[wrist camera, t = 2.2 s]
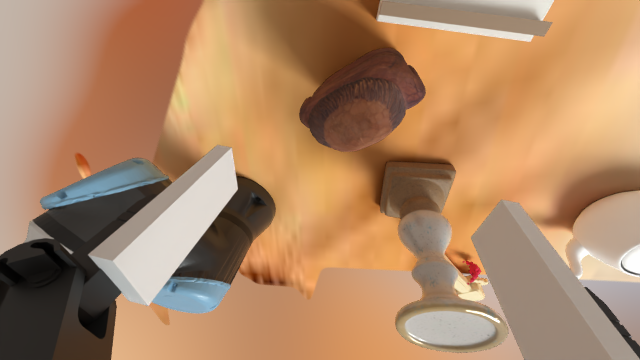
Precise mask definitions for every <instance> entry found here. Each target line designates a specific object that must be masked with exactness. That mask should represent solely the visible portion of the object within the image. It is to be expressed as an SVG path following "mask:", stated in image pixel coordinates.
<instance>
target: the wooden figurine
mask: <svg viewBox="0 0 640 360" xmlns="http://www.w3.org/2000/svg"><path fill="white" fill-rule="evenodd" d="M425 94H426V92H425V87H424V85H423V83H422V81H421V79H420V77H419V75H418V73H417V72H416V71H415V69H414V68H413V67H412V66H410V65H407V63H406V62H405V60H404V58H403V56H402V55H401V54H400V53H399V52H398V51H396V50H395V49H392V48H382V49H377V50H373V51H371V52H369V53H367V54H365V55H364V56H362V57H360V58H359V59H357V60H356V61H354V62H353V63H351V64H349V65H348V66H346V67H344V68H342V69H341V70H339V71H338V72H336V73H335V74H333V75H332V76H330V77H329V78H328V79H326V81H325V82H324V83H323V84H322V85H321V86H320V87H319V88H318V89H317V90H316V91H315V92H314V94H313V96H312V97H309V98H307V99H306V100H305V102H304V103H303V105H302V106H301V108H300V113H299V117H300V120H301V122H302V123H303V124H304V125H305V126H306V127H308V128H310V131H311V133H312V135H313V136H314V137H315V138H316V140H317V141H318V142H319V143H321V144H323V145H325V146H328V147H330V148H333V149H335V150H338V151H342V152H351V151H358V150H360V149H363V148H365V147H368V146H370V145H372V144H375V143H377V142H379V141H381V140H382V139H384V138H385V137H386V136H387V135H389V134H390V133H391V132H392V131H393V130H394V129H395V128H396V127H397V126H398V125H399V124H400V122H401V121H402V119H403V118H404V116H405V111H406V109H409V108H411V107H413V106H415V105H416V104H418V103H419V102H420V101H421V100H422V99H423V98H424V96H425Z"/></svg>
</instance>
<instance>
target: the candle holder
mask: <svg viewBox="0 0 640 360" xmlns="http://www.w3.org/2000/svg"><path fill="white" fill-rule="evenodd" d="M455 174H456V170H455V169H454V167H453V165H449V164H437V163H419V162H401V161H389V162H387V163H386V167H385V173H384V179H383V186H382V192H381V199H380V211H381V213H385V215H387V216H391V217H397V218H400V219H401V221H400V222H399V225H398V235H399V238H400V240H401V242H402V243H403V245H404V246H405V247H406V248H407V249H408V250H409V251H410V252H412V253H413V254H414V256H415V257H416V258H417V263H416V264H415V266H414V268H413V269H412V277H413V279H414V280H415V281H416V282H417V283H418V284H419V285H420V287H421V288H422V298H421V299H420V300H418V301H415V302H412V303H409V304H407V305H405V306H404V307H402V308H401V309H400V310H399V311H398V313H397V315H396V318H395V325H396V329H397V331H398V332H399V334H400V335H401V336H402V337H403V338H405V339H406V340H408V341H409V342H411V343H414V344H415V345H418V346H421V347H424V348H427V349H432V350H436V351H443V352H455V353H462V352H463V353H467V352H477V351H482V350H487V349H490V348H493V347H496V346H498V345H500V344H501V343H502V342H504V340H505V339H506V338H507V336H508V327H507V324H506V322H505V320H504V319H503V318H502V317H501V315H500V314H499V313H497V312H496V311H495V310H493V309H491V308H490V307H488V306H486V305H483V304H481V303H478V302H474V301H471V300H465V299H462V298H460V297H459V296H458V294H457V293H456V291H455V287H454V286H455V282H456V280H457V278H458V271H457V269H456V268H455V267H454V266H453V265H452V264H450V263H449V262H448V261H447V260H446V259H445V258H444V255H445V251H446V249H447V247H448V245H449V243H450V241H451V238H452V229H451V225H450V223H449V221H448V220H447V219H446V218H445V217H444V216H443V215H442V214H441V212H442V210H443V207H444V205H445V202H446V199H447V197H448V194H449V191H450V189H451V186H452V183H453V181H454V178H455Z"/></svg>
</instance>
